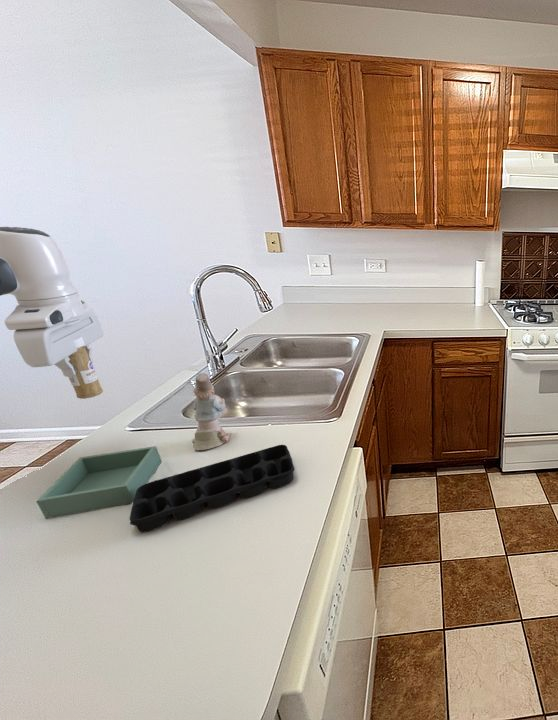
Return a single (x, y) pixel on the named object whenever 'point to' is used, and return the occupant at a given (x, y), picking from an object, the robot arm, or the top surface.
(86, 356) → the sprinkles bottle
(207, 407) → the figurine
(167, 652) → the top surface
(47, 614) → the top surface
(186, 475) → the egg carton
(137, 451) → the bin
